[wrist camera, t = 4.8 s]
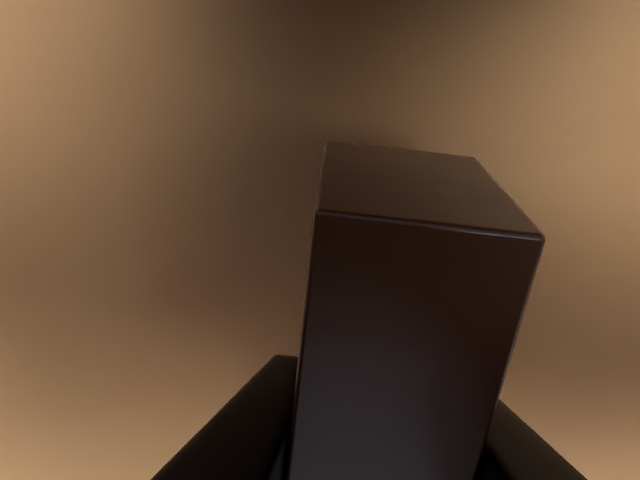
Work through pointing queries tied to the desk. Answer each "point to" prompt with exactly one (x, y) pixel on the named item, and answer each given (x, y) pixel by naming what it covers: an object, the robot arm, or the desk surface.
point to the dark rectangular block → (406, 315)
